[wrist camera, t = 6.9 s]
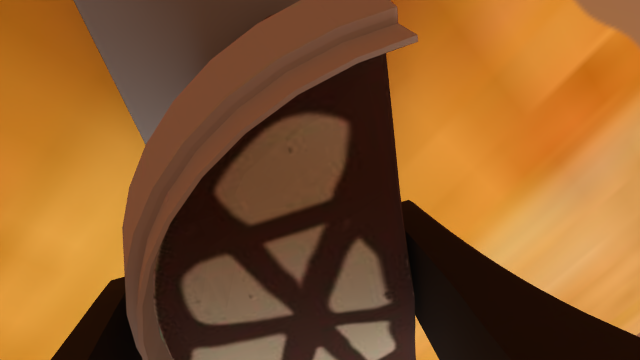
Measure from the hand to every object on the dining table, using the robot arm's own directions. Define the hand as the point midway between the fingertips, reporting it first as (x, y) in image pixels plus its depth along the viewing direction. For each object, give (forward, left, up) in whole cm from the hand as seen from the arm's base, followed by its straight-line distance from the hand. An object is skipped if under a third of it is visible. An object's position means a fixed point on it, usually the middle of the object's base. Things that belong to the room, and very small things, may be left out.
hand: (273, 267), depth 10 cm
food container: (0, 0, -8) cm, 8 cm away
